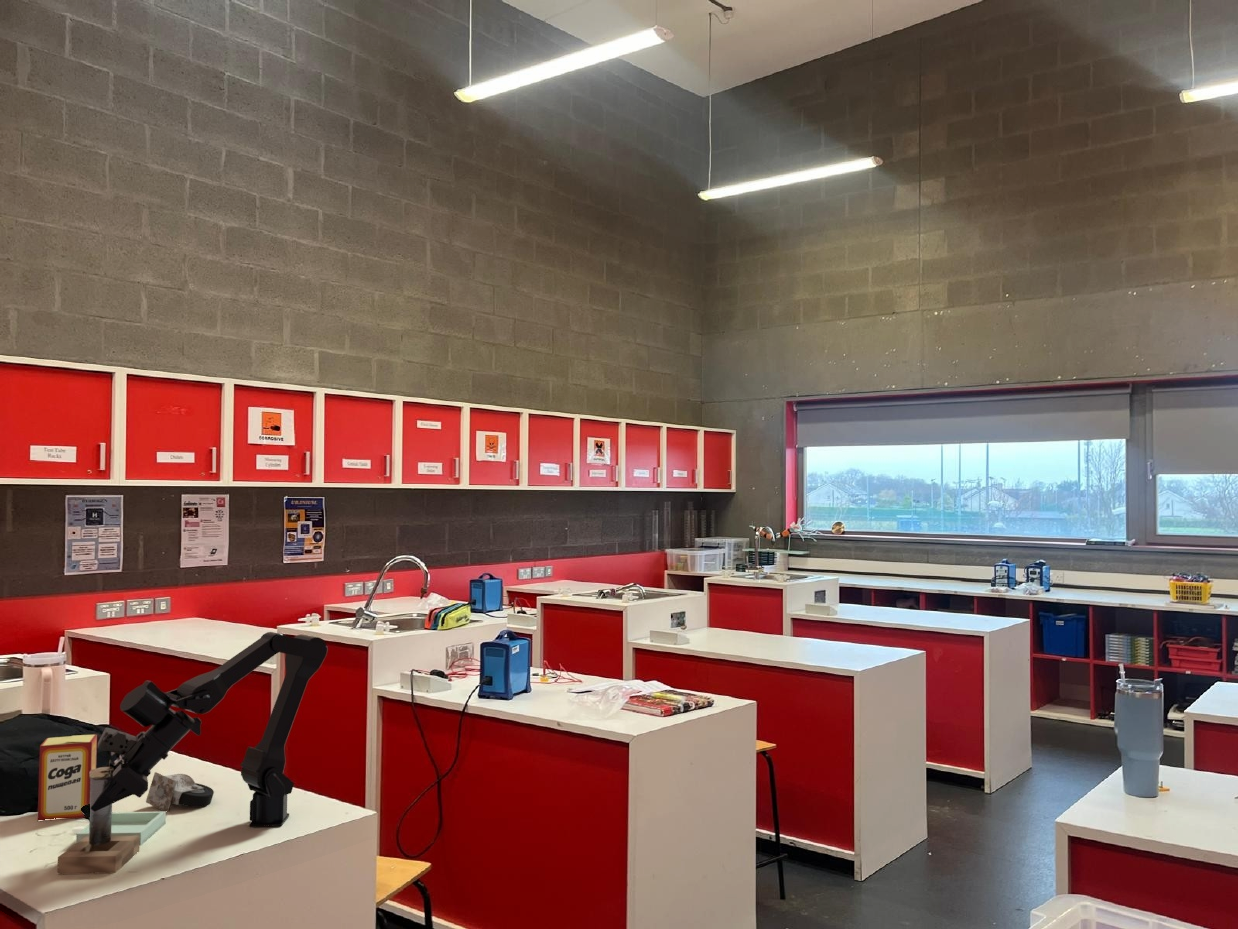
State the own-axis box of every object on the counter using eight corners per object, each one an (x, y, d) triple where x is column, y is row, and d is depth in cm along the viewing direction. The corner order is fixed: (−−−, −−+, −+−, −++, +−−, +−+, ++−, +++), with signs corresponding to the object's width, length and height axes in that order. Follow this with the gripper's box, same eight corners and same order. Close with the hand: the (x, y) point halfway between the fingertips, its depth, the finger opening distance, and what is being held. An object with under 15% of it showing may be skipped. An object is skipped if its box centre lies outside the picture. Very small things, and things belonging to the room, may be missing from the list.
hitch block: (139, 851, 177) (139, 835, 177) (115, 873, 167) (115, 856, 167) (84, 852, 176) (85, 836, 176) (57, 874, 166) (57, 857, 166)
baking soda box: (37, 821, 192) (40, 744, 193) (44, 811, 198) (47, 736, 199) (89, 816, 195) (91, 740, 196) (94, 806, 202) (97, 732, 202)
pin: (116, 837, 174) (117, 766, 174) (106, 845, 170) (108, 773, 170) (94, 837, 173) (95, 767, 174) (83, 845, 169) (85, 773, 170)
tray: (165, 823, 192) (165, 811, 192) (140, 845, 180) (140, 832, 180) (105, 824, 191) (105, 812, 191) (76, 847, 179) (76, 833, 179)
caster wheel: (215, 813, 206) (180, 821, 196) (179, 795, 210) (143, 802, 201) (224, 783, 206) (190, 789, 197) (188, 766, 211) (152, 772, 201)
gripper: (125, 702, 182) (58, 766, 177) (128, 723, 166) (55, 795, 160) (168, 737, 186) (104, 801, 180) (176, 761, 170) (106, 833, 164)
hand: (92, 806), depth 171 cm, fingers closed on pin, 4 cm apart
